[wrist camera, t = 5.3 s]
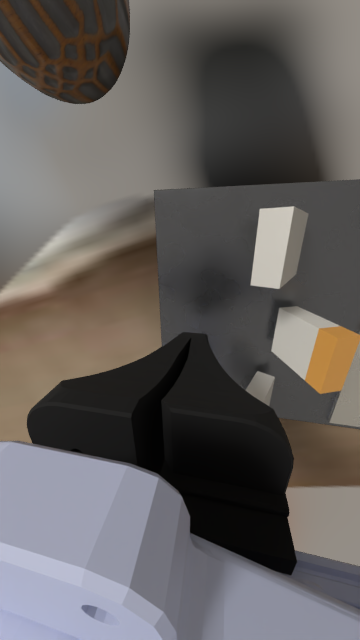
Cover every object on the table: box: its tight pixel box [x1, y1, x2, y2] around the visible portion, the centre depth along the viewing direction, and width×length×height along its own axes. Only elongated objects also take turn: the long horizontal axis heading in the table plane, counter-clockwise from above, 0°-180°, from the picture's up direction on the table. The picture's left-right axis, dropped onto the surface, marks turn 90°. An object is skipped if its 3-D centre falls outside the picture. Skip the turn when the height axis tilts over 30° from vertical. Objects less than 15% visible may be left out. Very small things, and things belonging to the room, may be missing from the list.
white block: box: [251, 206, 308, 289], centre depth 10 cm, size 3×1×4 cm, turn 0°
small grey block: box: [246, 371, 275, 406], centre depth 14 cm, size 3×1×4 cm, turn 0°
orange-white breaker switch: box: [271, 306, 360, 394], centre depth 11 cm, size 3×1×4 cm, turn 0°
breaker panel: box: [154, 180, 360, 429], centre depth 14 cm, size 16×16×2 cm
